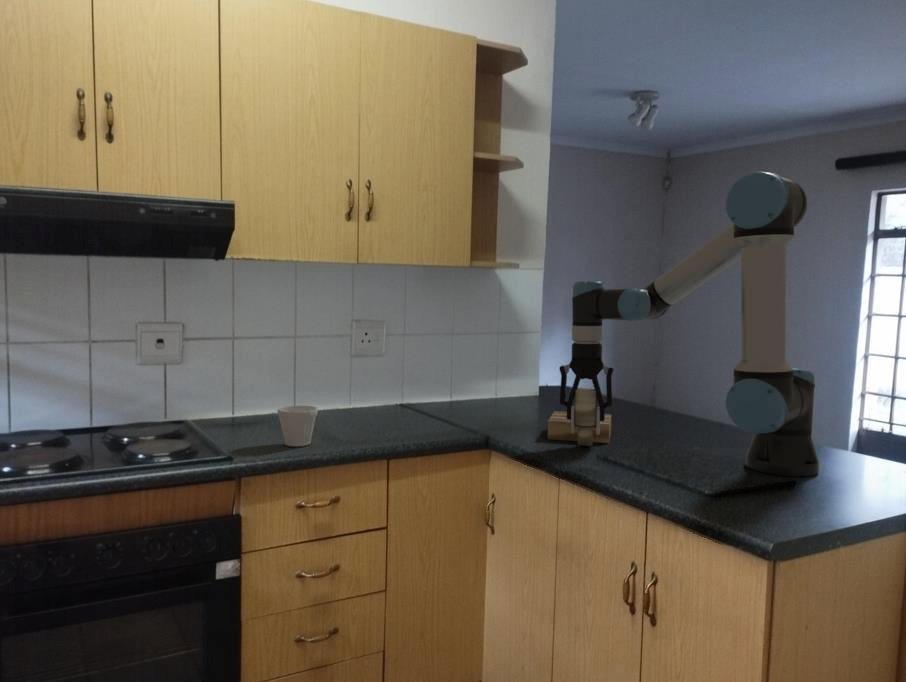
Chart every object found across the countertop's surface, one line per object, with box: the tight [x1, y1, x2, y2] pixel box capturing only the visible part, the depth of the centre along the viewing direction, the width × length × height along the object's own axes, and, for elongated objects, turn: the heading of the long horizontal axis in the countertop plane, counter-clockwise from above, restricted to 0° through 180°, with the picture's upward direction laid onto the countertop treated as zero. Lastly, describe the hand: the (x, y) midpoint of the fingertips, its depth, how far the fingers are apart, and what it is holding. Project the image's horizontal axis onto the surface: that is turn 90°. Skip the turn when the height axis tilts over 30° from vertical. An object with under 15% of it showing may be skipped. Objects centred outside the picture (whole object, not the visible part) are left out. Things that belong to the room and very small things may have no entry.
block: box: [547, 410, 612, 444], centre depth 195 cm, size 15×16×5 cm
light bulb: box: [574, 387, 598, 447], centre depth 181 cm, size 6×6×14 cm
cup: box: [277, 405, 319, 448], centre depth 180 cm, size 10×10×9 cm
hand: (585, 432), depth 182 cm, fingers closed on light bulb, 6 cm apart
